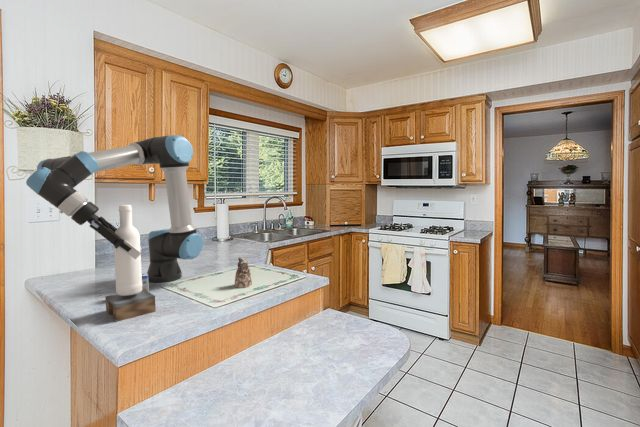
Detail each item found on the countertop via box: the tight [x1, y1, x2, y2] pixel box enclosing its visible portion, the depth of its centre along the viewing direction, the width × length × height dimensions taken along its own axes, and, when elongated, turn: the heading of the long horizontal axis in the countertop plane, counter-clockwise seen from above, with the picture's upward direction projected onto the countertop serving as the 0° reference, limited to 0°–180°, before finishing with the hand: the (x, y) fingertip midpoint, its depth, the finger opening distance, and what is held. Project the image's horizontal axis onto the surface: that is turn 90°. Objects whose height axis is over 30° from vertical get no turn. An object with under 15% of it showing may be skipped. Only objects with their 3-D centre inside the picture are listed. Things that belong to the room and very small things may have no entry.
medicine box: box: [142, 273, 150, 293], centre depth 133 cm, size 8×4×9 cm, turn 118°
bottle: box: [113, 204, 143, 296], centre depth 116 cm, size 8×8×30 cm
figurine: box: [234, 257, 253, 289], centre depth 147 cm, size 7×7×12 cm
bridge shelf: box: [104, 289, 157, 322], centre depth 117 cm, size 12×12×6 cm
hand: (138, 253), depth 117 cm, fingers closed on bottle, 8 cm apart
